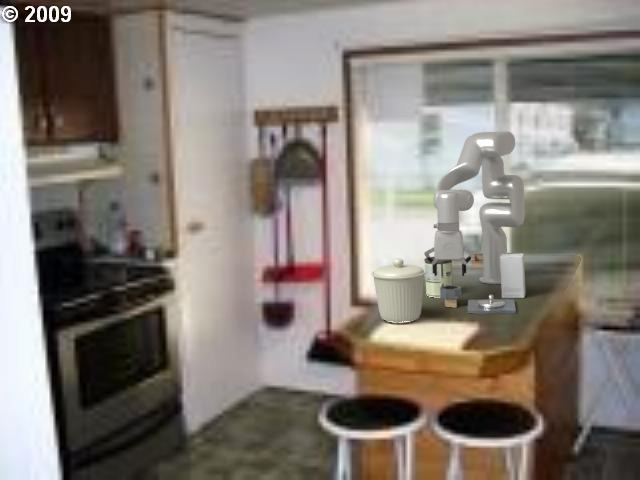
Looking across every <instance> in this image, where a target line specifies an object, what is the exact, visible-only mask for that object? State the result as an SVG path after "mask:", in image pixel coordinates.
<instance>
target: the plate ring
mask: <svg viewBox="0 0 640 480" xmlns="http://www.w3.org/2000/svg"><path fill="white" fill-rule="evenodd" d="M439 299H443V300H445V299H446V300H448V299H457V300H458V299H462V286H461V285H456V284H453V285H446V286H442V287H440V298H439Z"/></svg>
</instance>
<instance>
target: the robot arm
mask: <svg viewBox="0 0 640 480" xmlns="http://www.w3.org/2000/svg"><path fill="white" fill-rule="evenodd" d="M515 146H516V138H515V135H514V134H513V133H512V132H511V131H483V132H475V133H473V134H472V135H471V134H470V135H469V136H467V138H466V139H465V141H464V144H463V146H462V150H461V152H460V155H459V157H458V161H457V163H456V165H455V166H454V167H452V168H451V169H449V170H448V171H447V172H446V173H445V174H444V175H443V176H442V177H441V178H440V179H439V181H438V182H437V185H436V188H435V190H434V194H433V198H432V199H433V201H432V202H433V206H434V207H435V209H436V210H437V211H436V212H437V213H436V214H437V216H436V217H437V223H435V224H433V229H436V231H435V233H434V242H433V243H434V246H433V247H431V248H429V249H428V250H426V251H424V253H423V254H424V256H425V258H427V260H428V261H429V262H430V263H431V264H432V267H433V273H435V276H437V264H436V262H437V261H438V260H452V261H458V260H459V261H460V262H461V276H462V277H465V274H467V264H469V262H470V261H472V256H473V254H475V251H474V250H471V249H469V248H467V247H465V246H464V238H463V232H462V230H461V229H460V212H466V211H469V210H470V209H472V208H473V206H474V203H475V198H474V195H473V193H472V192H471V191H469V190H466V189H452V188H454V187H455V186H457V185H459V184H461V183H464V182H467V181H469V180H472V179H473V178H476V177H477V176H478V175H479V174H480V173H479V172H480V170H481V182H482V183H481V184H482V187H481V188H482V195H483V196H484V198H486V199H488V200H489V199H490V200H509V201H510V202H501V201H500V202H499V201H498V202H493V201H491V202H486V203H484V204H482V205H481V206H480V209H479V212H478V214H479V215H478V216H479V220H480V227H481V234H482V235H481V237H482V243H481V244H482V253H483V260H482V261H483V269H482V270H483V271H482V274H483V275H482V276H481V277H479V280H478V281H479V282H480V283H483V284H488V285H489V284H490V285H497V284H498V285H501V269H500V256H501V255H502V254H507V253H508V240H507V239H508V237H507V235H506V233H505V231H504V229H503V228H520V227H521V226H522V225H523V224H524V222H525V221H524V220H525V214H526V213H525V211H526V210H525V186H524V182H523V178H522V177H521V176H519V175H516V174H505V168H504V167H505V164H504V160H503V158H502V157H503V156H506V155H509V154H512V153H513V151H514V149H515ZM464 252H465V253H467V254H468V256H467V257H466V258H465V257H464V254H465V253H464ZM432 253H433V255H434V256H433V257H435V258H434V260H433V259H432V258H431V257H432V256H430V254H432Z"/></svg>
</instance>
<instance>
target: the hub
mask: <svg viewBox="0 0 640 480" xmlns="http://www.w3.org/2000/svg"><path fill="white" fill-rule="evenodd" d="M468 313H475V314H474V315H476V314H477V313H478V314H479V315H480V314H485V315H487V314H488V315H489V314H491V315H492V314H495V315H496V314H505V315H506V314H509V315H510V314H511V315H512V314H517V309H516V303H515V298H510V299H496V298H495V299H494V294H488V299H468V300H467V314H468ZM478 314H477V315H478Z"/></svg>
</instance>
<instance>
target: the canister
mask: <svg viewBox="0 0 640 480" xmlns="http://www.w3.org/2000/svg"><path fill="white" fill-rule="evenodd" d="M425 273H426V271H425V268H422V267H421V266H418V265H414V264H404V259H402V258H398V257H397V258H394V259H393V260H392V264H389V265H383V266H380V267H378V268H376V269H375V270H373V271H372V272H371V276H372V277H373V281H374V289H375V294H376V295H375V296H376V301H377V307H378V311H379V315H380V318H381V319H382V320H383V319H384V320H386V321H393V322H402V321H403V322H404V321H412V320H416V319H417V320H418V319H419V318H420V316H421V314H422V306H423V295H424V294H423V293H424V283H425V282H424V281H425V279H424V278H425ZM384 320H383V321H384ZM417 320H416V321H417ZM386 321H385V322H386Z"/></svg>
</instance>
